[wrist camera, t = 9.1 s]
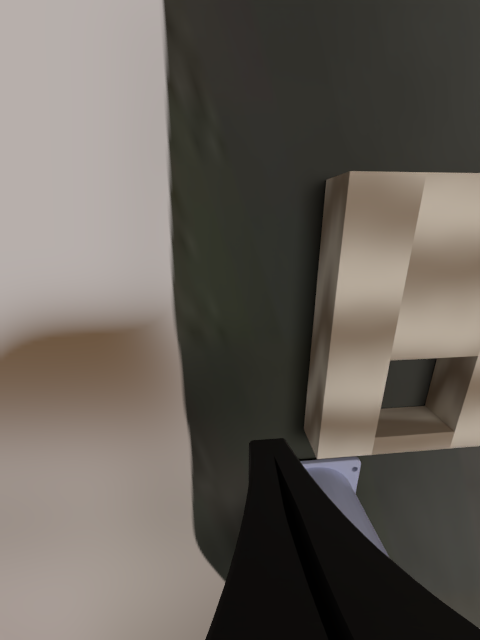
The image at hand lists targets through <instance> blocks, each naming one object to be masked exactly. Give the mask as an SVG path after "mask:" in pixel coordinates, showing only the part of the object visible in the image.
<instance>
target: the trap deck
mask: <svg viewBox="0 0 480 640" xmlns="http://www.w3.org/2000/svg"><path fill="white" fill-rule="evenodd" d="M428 358H437V360H436V364H435V368H434V372H433V376H432V380H431V384H430V388H429V392H428V395H427V399H426V403H425V406H414V407H399V408H384V409H381V404H382V399H383V394H384V389H385V384H386V379H387V373H388V368H389V363H390V360H408V359H428ZM304 431H305V433H306V435H307V438H308V440H309V442H310V444H311V447H312V449H313V451H314V453H315V456H316V458H317V459H325V458H338V457H350V456H362V455H374V454H386V453H399V452H411V451H423V450H435V449H447V448H460V447H472V446H480V173H429V172H363V171H350V172H347V173H344V174H341V175H338V176H335V177H333V178H330V179H327V180H326V189H325V200H324V211H323V222H322V233H321V245H320V256H319V267H318V278H317V289H316V300H315V311H314V322H313V333H312V344H311V355H310V366H309V378H308V389H307V400H306V411H305V422H304Z"/></svg>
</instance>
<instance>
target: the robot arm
mask: <svg viewBox="0 0 480 640" xmlns="http://www.w3.org/2000/svg"><path fill="white" fill-rule="evenodd" d="M360 466H361V462H360V460H359V458H357V457H345V458H333V459H321V460H309V461H299V459H298V458H297V456H296V455H295V454H294V452H293V451H292V449H291V448H290V446H289V445H288V443H287V442H286V440H285V439H283V438H280V439H266V440H253V441H251V442H250V443H249V487H248V494H247V499H246V505H245V510H244V516H243V520H242V525H241V529H240V533H239V537H238V541H237V545H236V549H235V552H234V556H233V559H232V563H231V566H230V570H229V573H228V576H227V579H226V582H225V586H224V589H223V591H222V594H221V597H220V600H219V603H218V606H217V609H216V612H215V615H214V618H213V621H212V623H211V626H210V629H209V632H208V634H207V637H206V639H205V640H480V629H479V628H478V627H476V626H475V625H474V624H472V623H471V622H469V621H468V620H467V619H465V618H464V617H463V616H461V615H460V614H458V613H457V612H456V611H454V610H453V609H451V608H450V607H449V606H447V605H446V604H445V603H443V602H442V601H441V600H439V599H438V598H437V597H435V596H434V595H433V594H432V593H430V592H429V591H428V590H427V589H425V588H424V587H423V586H422V585H420V584H419V583H418V582H417V581H415V580H414V579H413V578H412V577H411V576H410V575H408V574H407V573H406V572H405V571H404V570H403V569H401V568H400V567H399V566H398V565H397V564H396V563H394V562H393V561H392V560H391V559H390V558H389V556H388V554H387V552H386V550H385V548H384V547H383V545H382V543H381V541H380V539H379V537H378V535H377V533H376V531H375V530H374V528H373V526H372V524H371V522H370V520H369V518H368V516H367V515H366V513H365V511H364V509H363V507H362V505H361V503H360V501H359V499H358V498H357V496H356V494H355V493H356V488H357V482H358V477H359V471H360Z"/></svg>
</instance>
